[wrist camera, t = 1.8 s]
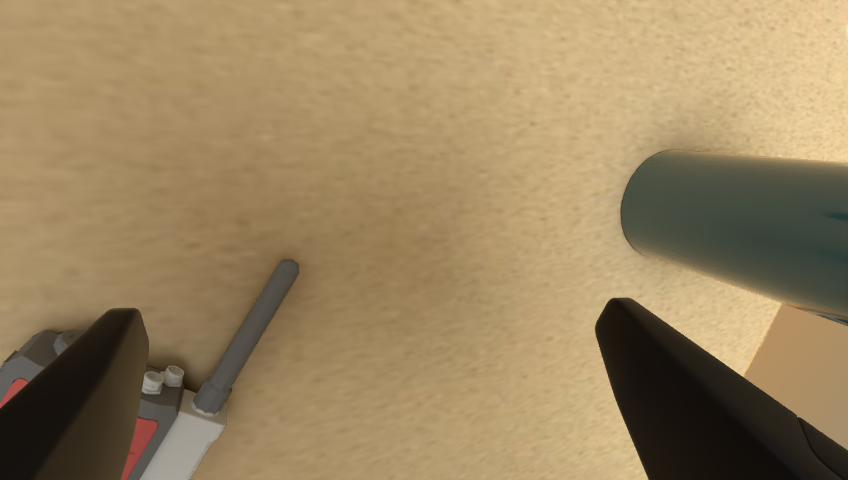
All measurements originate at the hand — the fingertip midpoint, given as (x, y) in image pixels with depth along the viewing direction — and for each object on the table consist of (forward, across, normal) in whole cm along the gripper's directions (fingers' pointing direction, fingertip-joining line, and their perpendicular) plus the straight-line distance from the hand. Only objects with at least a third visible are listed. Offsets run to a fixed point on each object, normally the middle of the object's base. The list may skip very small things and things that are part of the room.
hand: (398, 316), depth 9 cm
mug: (+16, -21, +7) cm, 28 cm away
